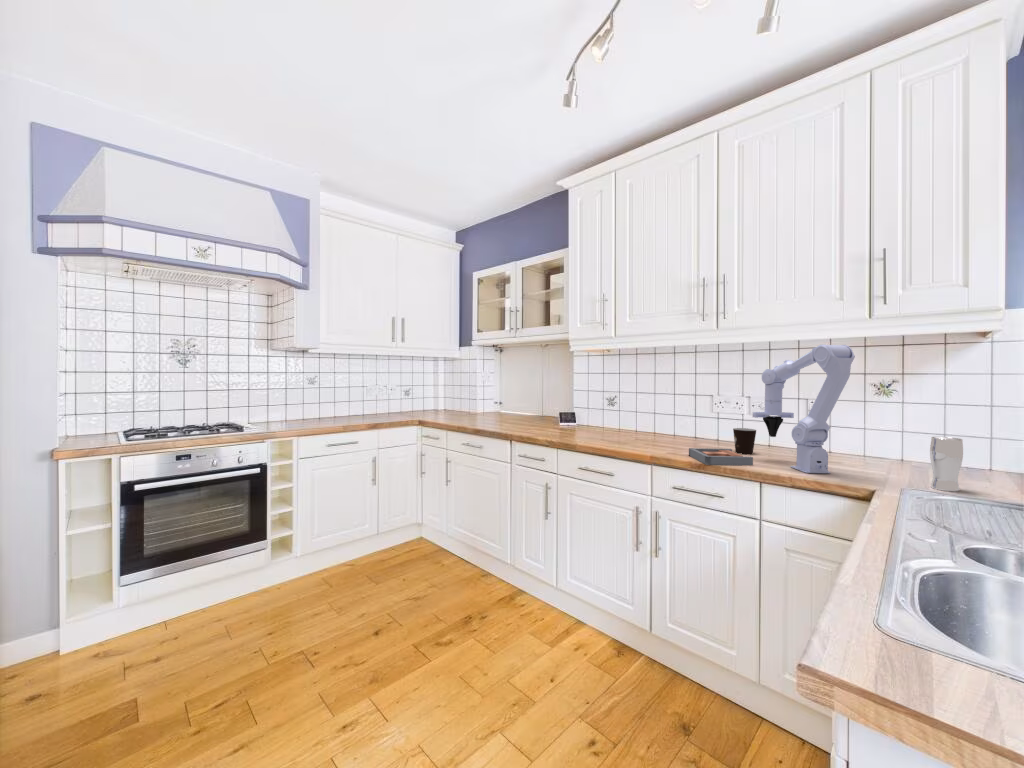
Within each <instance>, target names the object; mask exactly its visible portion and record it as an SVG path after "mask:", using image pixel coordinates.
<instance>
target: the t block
mask: <svg viewBox="0 0 1024 768" xmlns="http://www.w3.org/2000/svg"><path fill="white" fill-rule="evenodd" d="M702 453H704V454H706V455H708V456H742V457H744V455H743V454H738V453H736V452H735V451H733V450H732V451H729V450H718V452H702Z"/></svg>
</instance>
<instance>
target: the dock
mask: <svg viewBox="0 0 1024 768" xmlns="http://www.w3.org/2000/svg"><path fill="white" fill-rule="evenodd" d="M718 450H729V451H732V452H733V449H731V448H708V447H707V448H704V447H703V448H701V447H699V448H698V447H697V448H696V447H689V448H688V456H689V455H690V456H689V457H691V458H692V459H694V458H695V460H696V459H697V461H698V462H700V463H702V464H704V465H706V466H742V465H753V466H754V457H753V456H743V455H742V456H743V457H742V456H708V455H706V454H704V453H702V452H718Z"/></svg>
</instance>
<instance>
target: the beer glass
mask: <svg viewBox="0 0 1024 768" xmlns="http://www.w3.org/2000/svg"><path fill="white" fill-rule="evenodd" d="M930 438H931V440H930V445H929V446H930V448H929V457H930V464H931V470H932V480H931V483H930V487H931V488H932V489H934V490H938V491H943V492H950V493H952V492H953V493H959V492H960V490H961V489H960V486H959V485H960V484H959V475H960V471H961V467H962V464H963V460H964V444H963V442H964V441H963V440H964V439H962V438H959V437H958V438H957V437H951V436H950V437H949V436H931V437H930Z"/></svg>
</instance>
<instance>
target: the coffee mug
mask: <svg viewBox="0 0 1024 768" xmlns="http://www.w3.org/2000/svg"><path fill="white" fill-rule="evenodd" d="M732 430H733V440H734V450H735V451H734V452H735V453H736V452H737V454H738V453H742V454H741V455H747V454H750V455H753V454H752V453H754V449H755V441H756V435H757V429H756V428H755V429H754V428H747V427H734V428H733V429H732Z"/></svg>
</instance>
